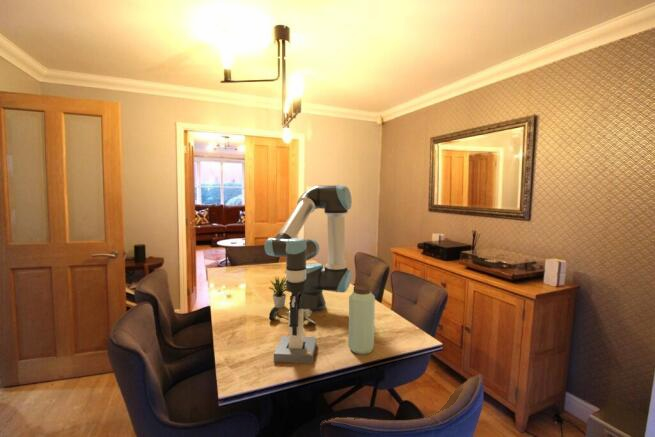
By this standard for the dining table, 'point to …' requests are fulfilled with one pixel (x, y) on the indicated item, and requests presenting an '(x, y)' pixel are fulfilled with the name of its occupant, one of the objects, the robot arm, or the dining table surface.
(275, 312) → the artificial flower
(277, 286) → the house plant
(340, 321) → the dining table surface
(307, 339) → the socket
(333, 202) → the robot arm
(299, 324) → the cream long rectangular block
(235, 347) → the dining table surface
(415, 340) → the dining table surface
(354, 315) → the water bottle
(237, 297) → the dining table surface
